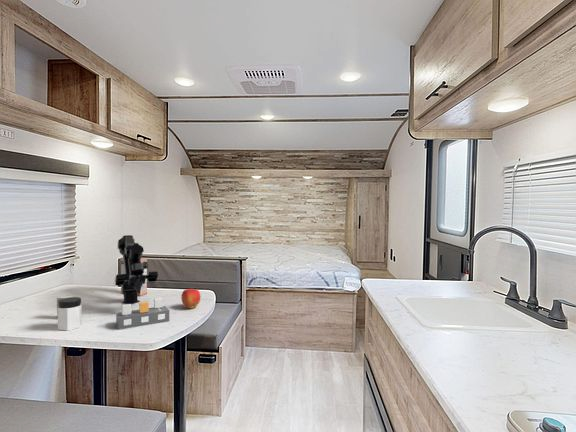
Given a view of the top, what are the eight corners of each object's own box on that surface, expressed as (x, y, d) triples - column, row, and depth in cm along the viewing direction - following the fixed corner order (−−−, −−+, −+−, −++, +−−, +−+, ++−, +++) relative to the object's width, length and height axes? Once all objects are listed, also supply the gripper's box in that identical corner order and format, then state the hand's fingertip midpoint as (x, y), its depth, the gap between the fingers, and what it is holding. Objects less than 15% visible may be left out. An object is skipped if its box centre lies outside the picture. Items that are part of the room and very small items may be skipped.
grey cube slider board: (116, 323, 153) (116, 312, 153) (165, 316, 164) (165, 305, 164) (118, 329, 146) (118, 317, 146) (169, 321, 157) (169, 310, 157)
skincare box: (74, 317, 161) (74, 295, 161) (66, 320, 157) (66, 298, 156) (64, 316, 162) (64, 295, 161) (56, 319, 157) (56, 297, 157)
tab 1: (121, 314, 150) (121, 305, 149) (130, 312, 152) (130, 303, 151) (122, 315, 148) (122, 306, 148) (131, 314, 150) (131, 304, 150)
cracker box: (147, 293, 203) (147, 258, 203) (139, 296, 198) (139, 260, 197) (128, 291, 208) (128, 257, 207) (120, 293, 202) (120, 258, 201)
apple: (200, 310, 174) (200, 290, 174) (180, 311, 172) (180, 291, 172) (200, 304, 183) (200, 286, 183) (182, 305, 181) (182, 286, 181)
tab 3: (154, 307, 160) (154, 298, 160) (161, 306, 162) (161, 297, 162) (154, 308, 159) (154, 299, 158) (162, 307, 161) (162, 298, 160)
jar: (78, 322, 154) (78, 295, 153) (85, 326, 149) (85, 299, 148) (54, 327, 147) (54, 299, 147) (61, 332, 142) (61, 303, 141)
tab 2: (139, 311, 153) (139, 302, 153) (147, 310, 155) (147, 301, 155) (140, 312, 152) (140, 303, 152) (148, 311, 154) (148, 302, 153)
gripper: (115, 257, 162) (118, 286, 153) (157, 255, 172) (162, 281, 163) (113, 271, 169) (116, 299, 160) (153, 267, 179) (158, 294, 170)
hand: (139, 293), depth 163 cm, fingers closed
